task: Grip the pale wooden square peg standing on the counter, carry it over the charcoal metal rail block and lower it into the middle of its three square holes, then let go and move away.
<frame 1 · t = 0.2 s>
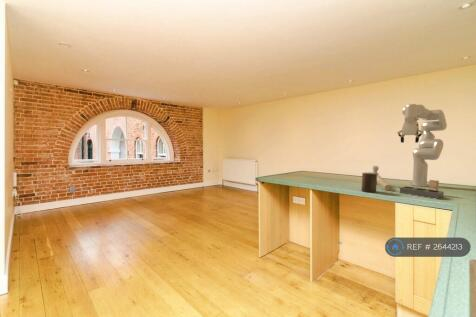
hand: (409, 142, 180), 36 cm above the countertop, tool pointing down, fingers open, 9 cm apart
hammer: (380, 187, 189), on the countertop
pillar candle: (368, 191, 173), on the countertop
peg: (433, 194, 162), on the countertop
rail: (420, 195, 160), on the countertop
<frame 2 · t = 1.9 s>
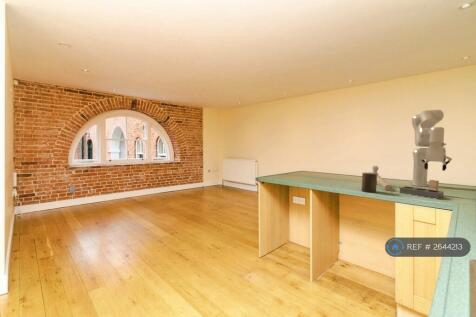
hand: (434, 169, 160), 17 cm above the countertop, tool pointing down, fingers open, 9 cm apart
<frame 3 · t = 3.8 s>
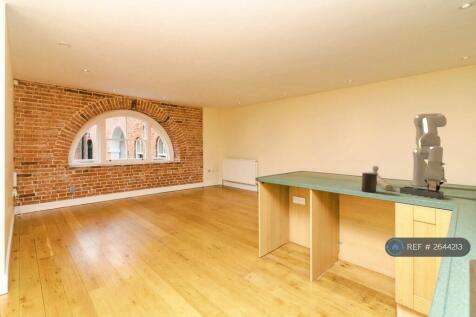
hand: (433, 189, 162), 3 cm above the countertop, tool pointing down, fingers closed on peg, 3 cm apart
peg: (433, 194, 162), on the countertop, touching gripper
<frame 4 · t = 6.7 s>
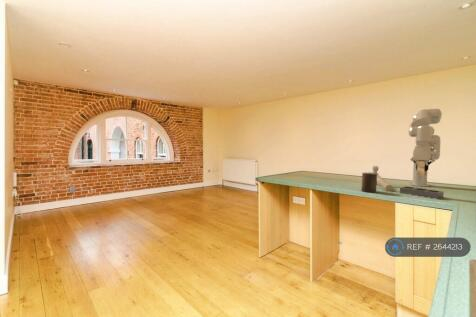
hand: (421, 170, 159), 17 cm above the countertop, tool pointing down, fingers closed on peg, 4 cm apart
peg: (421, 175, 159), point 14 cm above the countertop, touching gripper
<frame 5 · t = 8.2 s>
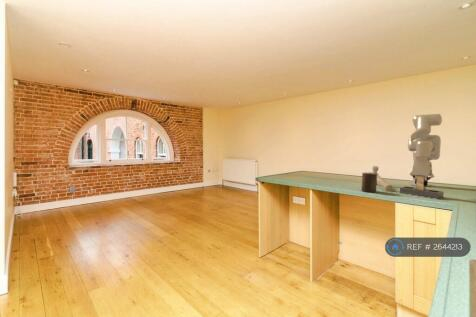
hand: (421, 185, 159), 7 cm above the countertop, tool pointing down, fingers closed on peg, 4 cm apart
peg: (420, 190, 160), point 4 cm above the countertop, touching gripper
when the fingers open (5 cm above the countertop, at t = 9.6 s): peg stays where it is, resting on rail.
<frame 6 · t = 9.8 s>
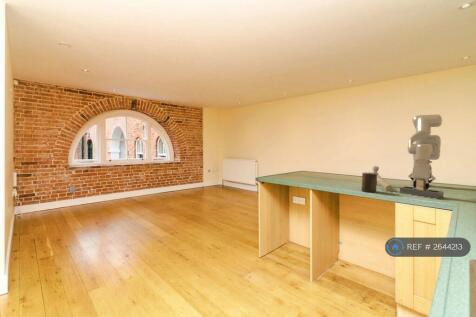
hand: (420, 187, 160), 5 cm above the countertop, tool pointing down, fingers open, 6 cm apart
peg: (420, 193, 160), point 1 cm above the countertop, touching rail
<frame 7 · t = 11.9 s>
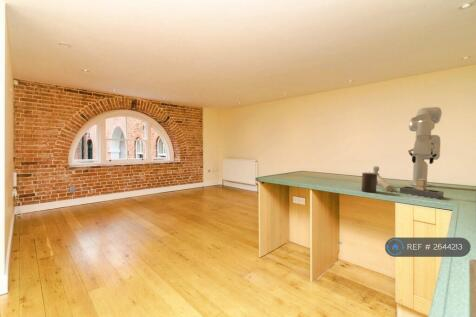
hand: (422, 163, 159), 22 cm above the countertop, tool pointing down, fingers open, 9 cm apart
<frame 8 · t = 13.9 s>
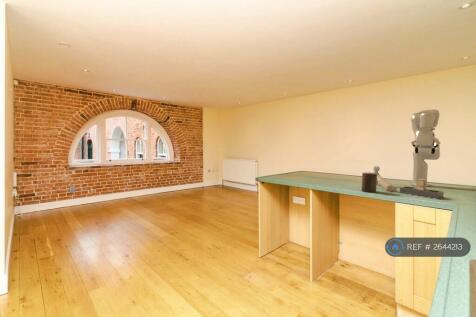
hand: (424, 153, 169), 28 cm above the countertop, tool pointing down, fingers open, 9 cm apart
at the end: peg 0.0 cm off-centre on the rail, point 1.0 cm above the rail's base; peg tilted 0°; the gripper is holding nothing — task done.
